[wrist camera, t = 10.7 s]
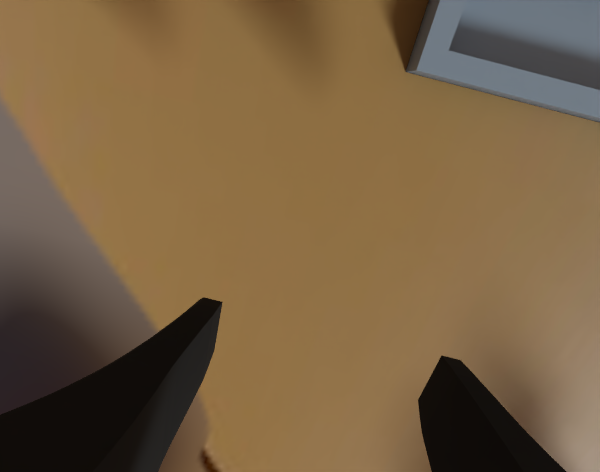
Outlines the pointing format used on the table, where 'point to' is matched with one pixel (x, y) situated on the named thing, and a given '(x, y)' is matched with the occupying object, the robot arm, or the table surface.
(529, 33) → the tray
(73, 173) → the table surface
